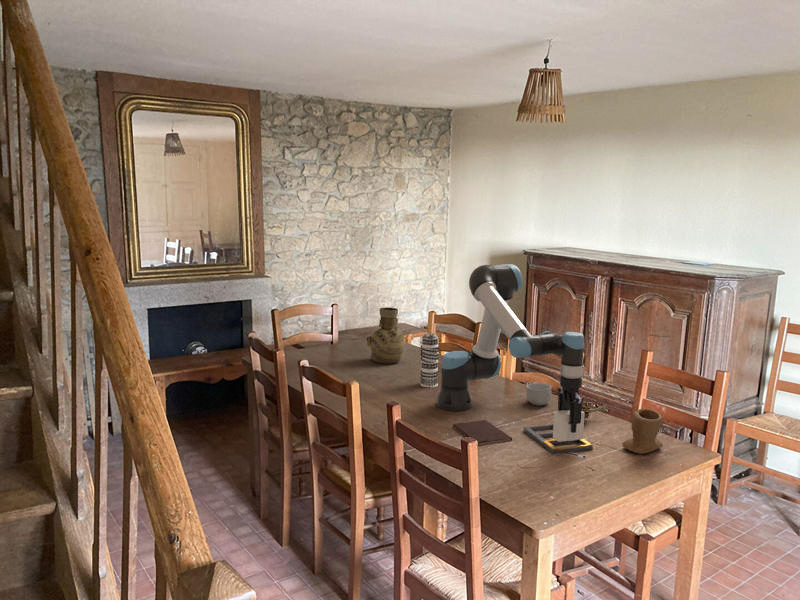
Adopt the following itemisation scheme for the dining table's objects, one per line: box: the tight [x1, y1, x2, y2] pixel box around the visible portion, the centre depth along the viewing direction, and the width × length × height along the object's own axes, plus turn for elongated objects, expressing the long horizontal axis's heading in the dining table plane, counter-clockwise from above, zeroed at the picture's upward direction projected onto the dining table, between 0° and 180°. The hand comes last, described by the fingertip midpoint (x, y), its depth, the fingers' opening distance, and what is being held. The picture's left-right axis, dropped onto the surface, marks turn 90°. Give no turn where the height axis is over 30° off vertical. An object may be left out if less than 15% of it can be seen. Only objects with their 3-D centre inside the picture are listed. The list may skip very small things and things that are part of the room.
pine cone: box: [582, 400, 609, 422], centre depth 251 cm, size 22×10×10 cm, turn 110°
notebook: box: [452, 419, 513, 446], centre depth 236 cm, size 15×20×2 cm
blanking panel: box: [552, 410, 585, 442], centre depth 222 cm, size 10×4×10 cm, turn 106°
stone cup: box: [622, 408, 664, 455], centre depth 221 cm, size 15×12×15 cm
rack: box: [522, 424, 594, 455], centre depth 230 cm, size 16×23×2 cm
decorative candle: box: [420, 332, 440, 388], centre depth 295 cm, size 9×9×25 cm
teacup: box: [525, 381, 553, 406], centre depth 273 cm, size 14×11×8 cm
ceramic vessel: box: [366, 306, 405, 365], centre depth 336 cm, size 19×21×30 cm
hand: (567, 437), depth 223 cm, fingers closed on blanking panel, 4 cm apart
